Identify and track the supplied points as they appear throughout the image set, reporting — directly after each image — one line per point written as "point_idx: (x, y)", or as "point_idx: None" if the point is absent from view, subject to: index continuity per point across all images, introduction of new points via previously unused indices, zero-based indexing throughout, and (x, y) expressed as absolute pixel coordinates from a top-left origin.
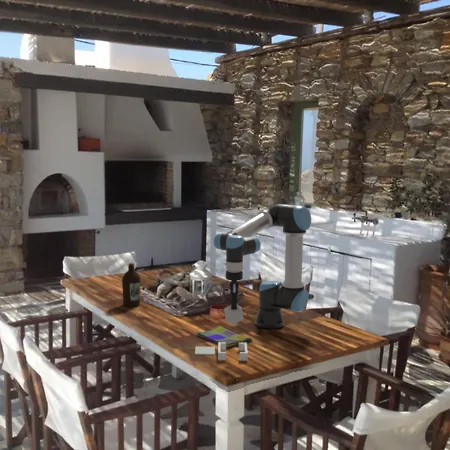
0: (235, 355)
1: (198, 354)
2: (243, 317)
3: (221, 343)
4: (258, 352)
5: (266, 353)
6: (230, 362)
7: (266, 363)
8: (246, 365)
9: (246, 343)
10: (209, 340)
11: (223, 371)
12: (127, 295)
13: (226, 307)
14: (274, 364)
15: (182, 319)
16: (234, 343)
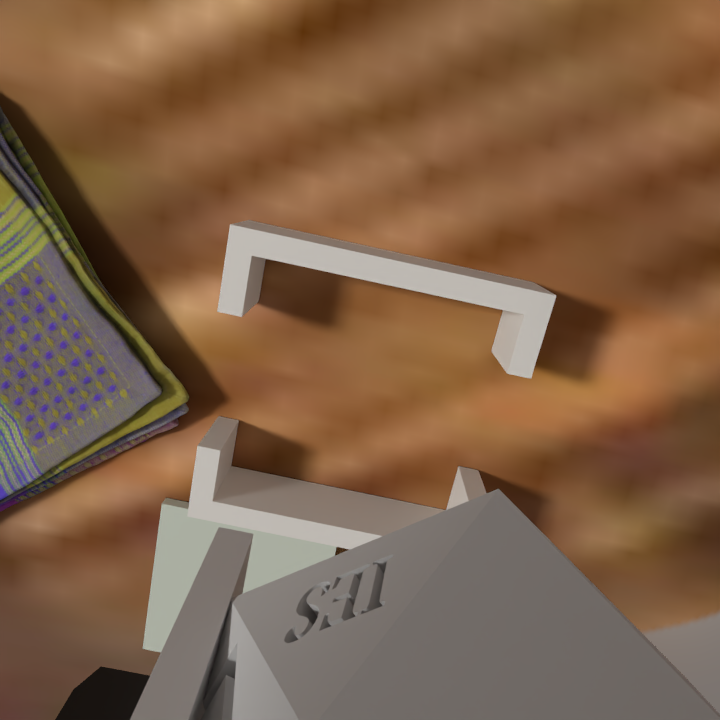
0: (375, 361)
1: None
2: (531, 524)
3: (214, 490)
4: (332, 102)
5: (376, 14)
6: (533, 443)
7: (653, 103)
8: (642, 321)
9: (253, 230)
10: None
11: (707, 538)
12: None
13: None
14: (706, 19)
15: None
16: (130, 325)
